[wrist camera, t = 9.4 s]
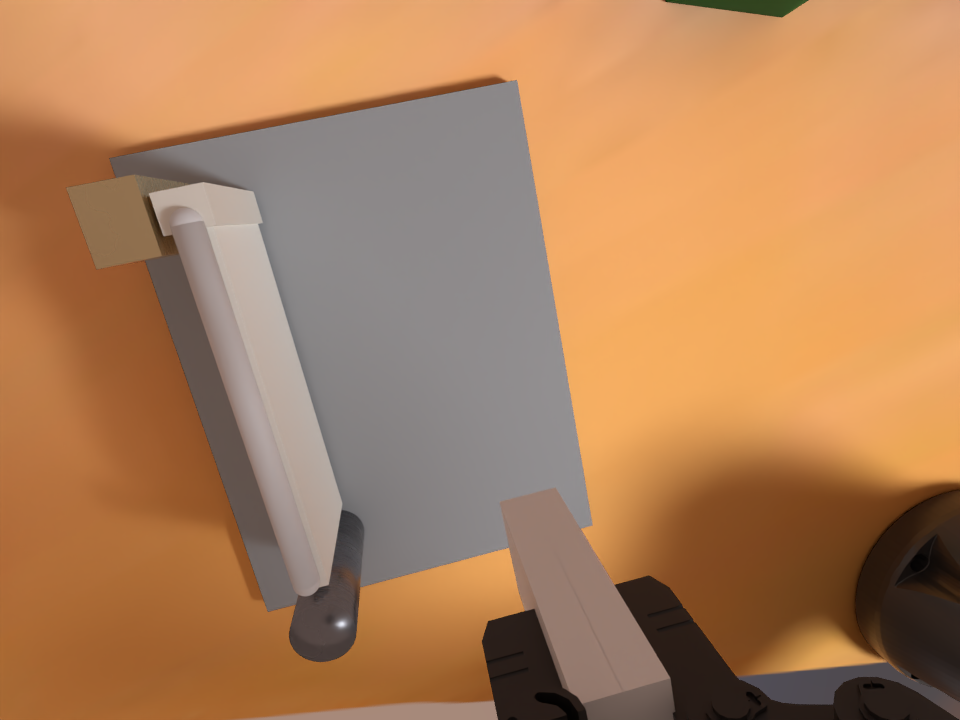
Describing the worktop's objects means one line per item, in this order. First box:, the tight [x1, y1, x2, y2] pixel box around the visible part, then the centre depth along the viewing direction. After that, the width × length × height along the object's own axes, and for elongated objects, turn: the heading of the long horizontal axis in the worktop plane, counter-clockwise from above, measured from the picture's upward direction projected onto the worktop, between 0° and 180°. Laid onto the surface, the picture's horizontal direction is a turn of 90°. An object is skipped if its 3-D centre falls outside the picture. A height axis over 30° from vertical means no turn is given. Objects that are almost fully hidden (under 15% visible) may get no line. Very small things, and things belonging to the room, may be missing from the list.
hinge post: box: [289, 510, 365, 662], centre depth 32 cm, size 3×3×10 cm
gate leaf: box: [149, 182, 342, 596], centre depth 28 cm, size 18×2×9 cm, turn 12°
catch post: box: [66, 175, 192, 269], centre depth 27 cm, size 3×2×10 cm
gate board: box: [109, 80, 592, 612], centre depth 34 cm, size 27×21×1 cm
